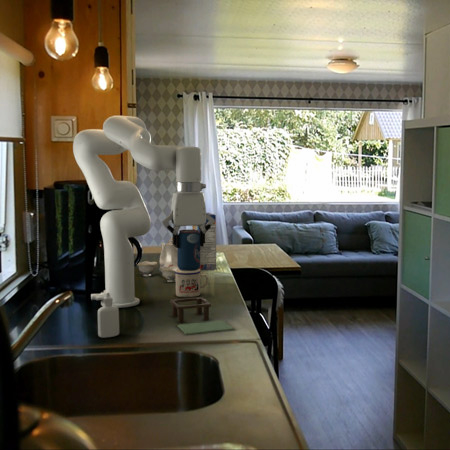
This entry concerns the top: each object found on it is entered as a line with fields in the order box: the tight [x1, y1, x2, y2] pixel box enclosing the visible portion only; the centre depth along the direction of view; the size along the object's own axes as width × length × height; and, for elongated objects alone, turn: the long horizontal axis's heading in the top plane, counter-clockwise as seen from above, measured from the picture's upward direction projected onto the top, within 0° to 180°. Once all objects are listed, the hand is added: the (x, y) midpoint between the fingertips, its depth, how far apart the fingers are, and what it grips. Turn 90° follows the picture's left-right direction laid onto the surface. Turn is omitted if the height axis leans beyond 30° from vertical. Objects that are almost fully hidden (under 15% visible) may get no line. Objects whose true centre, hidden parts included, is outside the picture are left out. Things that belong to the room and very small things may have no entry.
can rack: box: [169, 296, 212, 324], centre depth 198 cm, size 10×10×5 cm
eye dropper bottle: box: [97, 293, 120, 339], centre depth 178 cm, size 4×6×12 cm
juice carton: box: [191, 212, 217, 271], centre depth 286 cm, size 12×8×24 cm, turn 21°
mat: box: [176, 319, 235, 336], centre depth 187 cm, size 14×10×1 cm
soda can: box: [177, 228, 200, 271], centre depth 196 cm, size 7×7×12 cm
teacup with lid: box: [175, 269, 210, 299], centre depth 230 cm, size 12×9×12 cm
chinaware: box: [136, 236, 179, 283], centre depth 264 cm, size 28×17×17 cm, turn 49°
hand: (188, 246), depth 196 cm, fingers closed on soda can, 7 cm apart
